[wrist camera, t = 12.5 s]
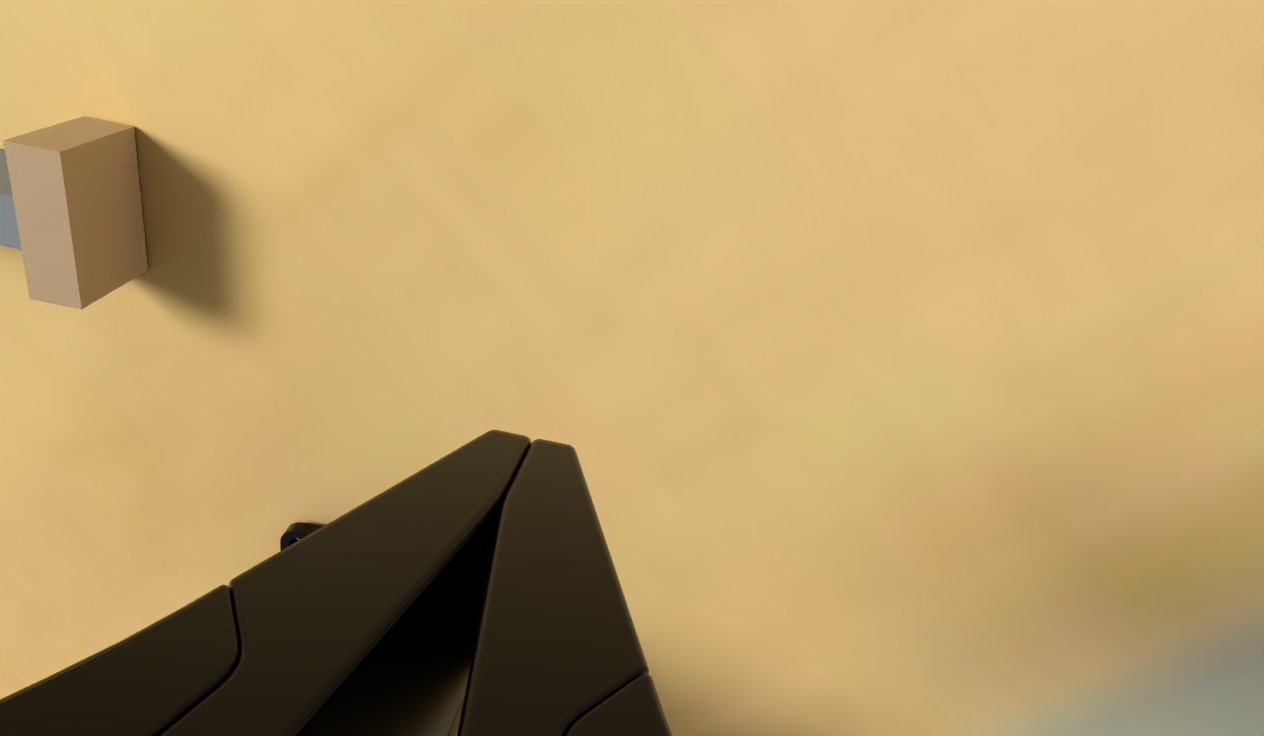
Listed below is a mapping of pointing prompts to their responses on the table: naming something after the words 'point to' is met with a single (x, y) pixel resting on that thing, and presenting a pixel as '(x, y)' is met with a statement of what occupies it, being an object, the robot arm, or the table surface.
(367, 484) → the table surface
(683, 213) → the table surface
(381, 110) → the table surface
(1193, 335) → the table surface
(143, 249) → the grey piece
